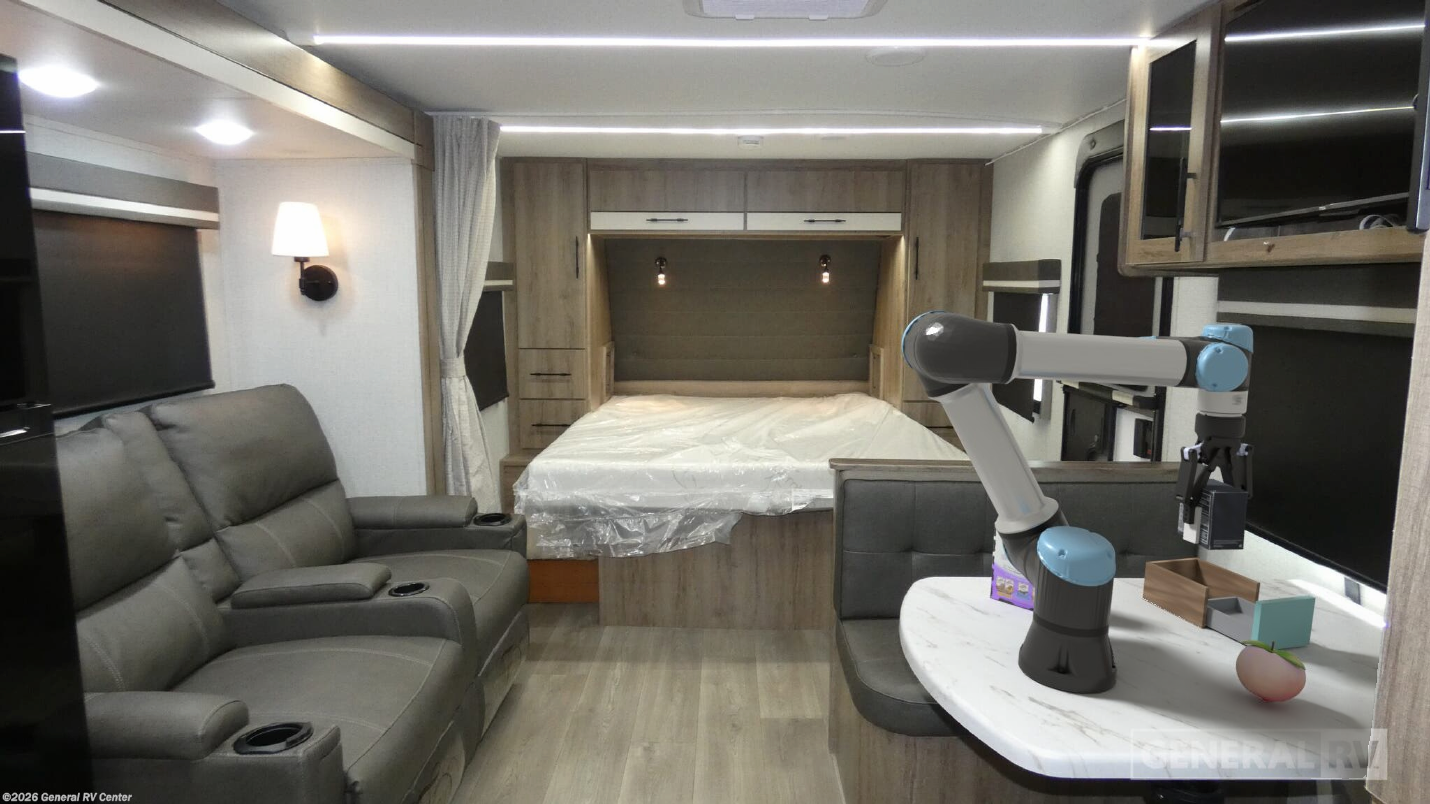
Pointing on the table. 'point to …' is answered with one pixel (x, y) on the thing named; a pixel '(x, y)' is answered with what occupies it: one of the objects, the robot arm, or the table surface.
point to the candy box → (1009, 579)
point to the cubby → (1193, 587)
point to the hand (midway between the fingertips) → (1209, 539)
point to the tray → (1263, 620)
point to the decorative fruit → (1270, 672)
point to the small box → (1220, 517)
